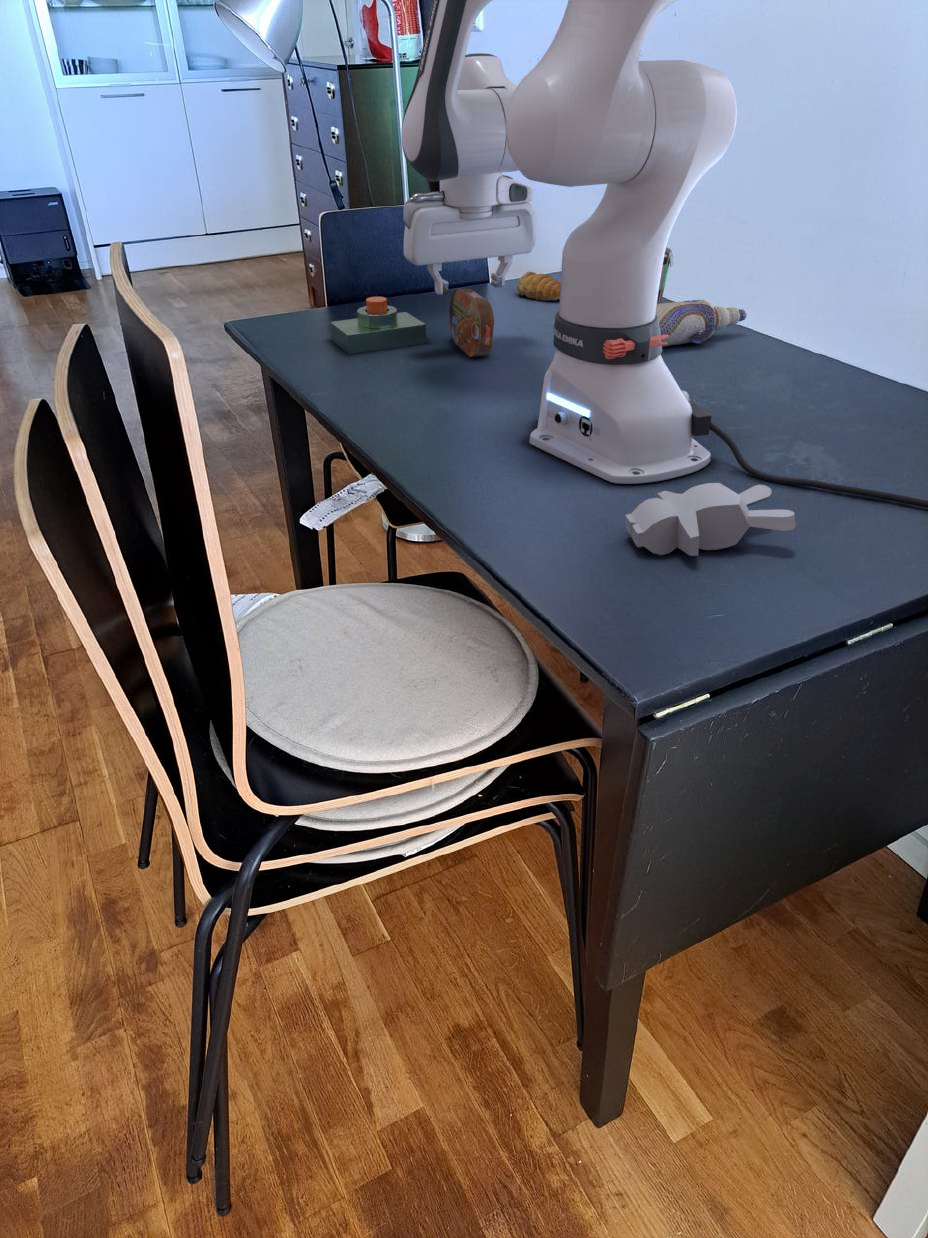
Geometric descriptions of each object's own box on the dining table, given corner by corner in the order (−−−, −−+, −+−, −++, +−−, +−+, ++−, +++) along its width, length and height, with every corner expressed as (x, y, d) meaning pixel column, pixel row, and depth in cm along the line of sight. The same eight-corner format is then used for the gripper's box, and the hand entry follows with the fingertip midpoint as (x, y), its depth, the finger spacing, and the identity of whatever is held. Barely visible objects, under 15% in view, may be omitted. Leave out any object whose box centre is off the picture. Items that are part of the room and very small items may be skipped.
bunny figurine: (616, 487, 88) (762, 461, 88) (617, 532, 90) (759, 506, 91) (646, 532, 80) (806, 503, 81) (646, 580, 83) (801, 551, 84)
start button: (390, 313, 138) (389, 300, 137) (371, 316, 137) (370, 302, 136) (382, 308, 140) (382, 295, 139) (363, 311, 139) (363, 297, 138)
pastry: (574, 297, 163) (575, 276, 161) (550, 305, 159) (551, 283, 157) (536, 288, 169) (537, 267, 166) (512, 295, 165) (512, 274, 163)
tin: (447, 336, 143) (447, 282, 139) (466, 334, 144) (466, 280, 139) (476, 364, 132) (477, 306, 127) (496, 362, 132) (497, 304, 128)
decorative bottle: (618, 361, 132) (622, 316, 129) (593, 347, 138) (596, 304, 135) (758, 340, 141) (766, 297, 137) (729, 328, 147) (735, 286, 143)
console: (426, 343, 141) (425, 310, 138) (348, 354, 136) (346, 321, 133) (406, 330, 146) (405, 298, 144) (331, 340, 142) (329, 308, 139)
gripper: (412, 198, 119) (415, 303, 127) (543, 187, 127) (538, 287, 135) (394, 190, 124) (398, 292, 132) (522, 180, 131) (518, 277, 139)
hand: (470, 289), depth 133 cm, fingers open, 8 cm apart
